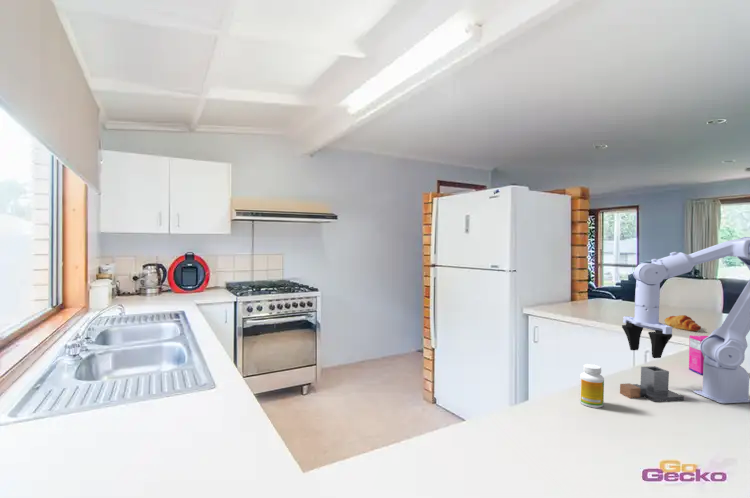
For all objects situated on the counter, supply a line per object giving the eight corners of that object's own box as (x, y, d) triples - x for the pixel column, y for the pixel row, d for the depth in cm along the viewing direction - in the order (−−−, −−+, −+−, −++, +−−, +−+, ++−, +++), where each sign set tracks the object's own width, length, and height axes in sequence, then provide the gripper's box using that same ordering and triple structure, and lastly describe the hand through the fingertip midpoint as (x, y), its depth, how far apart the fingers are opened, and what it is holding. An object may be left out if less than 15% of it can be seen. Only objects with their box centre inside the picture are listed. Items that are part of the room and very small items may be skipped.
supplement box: (706, 370, 132) (708, 335, 132) (720, 376, 127) (721, 339, 126) (687, 369, 133) (689, 334, 133) (700, 375, 127) (701, 339, 127)
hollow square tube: (654, 387, 113) (655, 366, 112) (668, 393, 108) (668, 371, 108) (640, 388, 112) (641, 366, 112) (653, 394, 108) (654, 371, 107)
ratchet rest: (655, 387, 115) (655, 375, 115) (683, 400, 106) (684, 387, 106) (612, 389, 113) (613, 377, 113) (638, 402, 104) (638, 389, 104)
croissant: (659, 330, 209) (653, 316, 209) (676, 321, 210) (669, 307, 209) (694, 339, 188) (687, 324, 188) (712, 329, 188) (705, 314, 188)
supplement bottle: (606, 409, 100) (607, 370, 99) (582, 407, 101) (584, 368, 100) (599, 400, 105) (600, 363, 105) (576, 398, 106) (577, 362, 106)
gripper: (614, 301, 120) (613, 347, 120) (656, 310, 106) (654, 362, 106) (635, 301, 121) (633, 346, 122) (679, 310, 107) (677, 361, 107)
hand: (645, 353), depth 114 cm, fingers open, 7 cm apart
